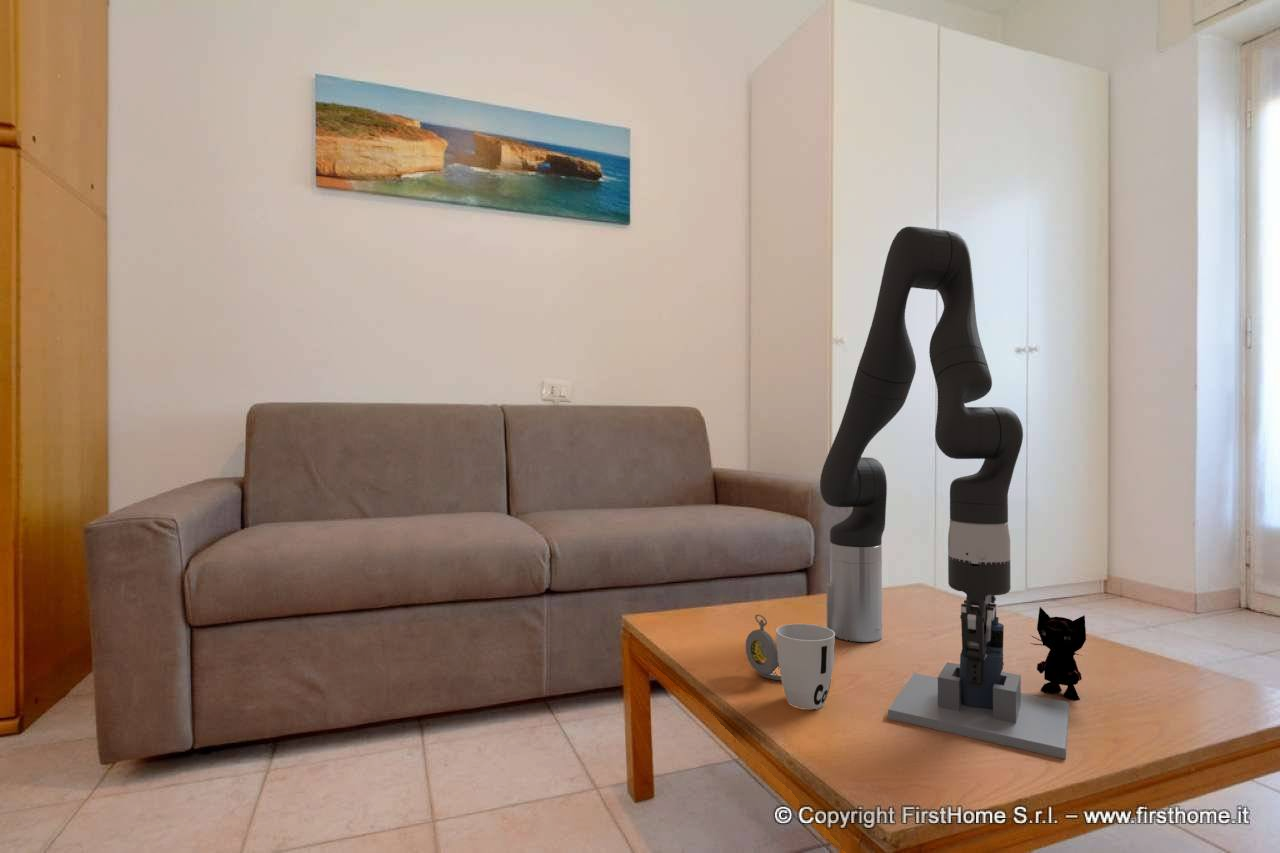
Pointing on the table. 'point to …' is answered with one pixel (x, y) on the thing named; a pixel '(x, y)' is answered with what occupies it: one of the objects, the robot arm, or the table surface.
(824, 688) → the cup
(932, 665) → the table surface
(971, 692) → the vaping device
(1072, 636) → the cat figurine
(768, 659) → the pocket watch
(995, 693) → the dock
